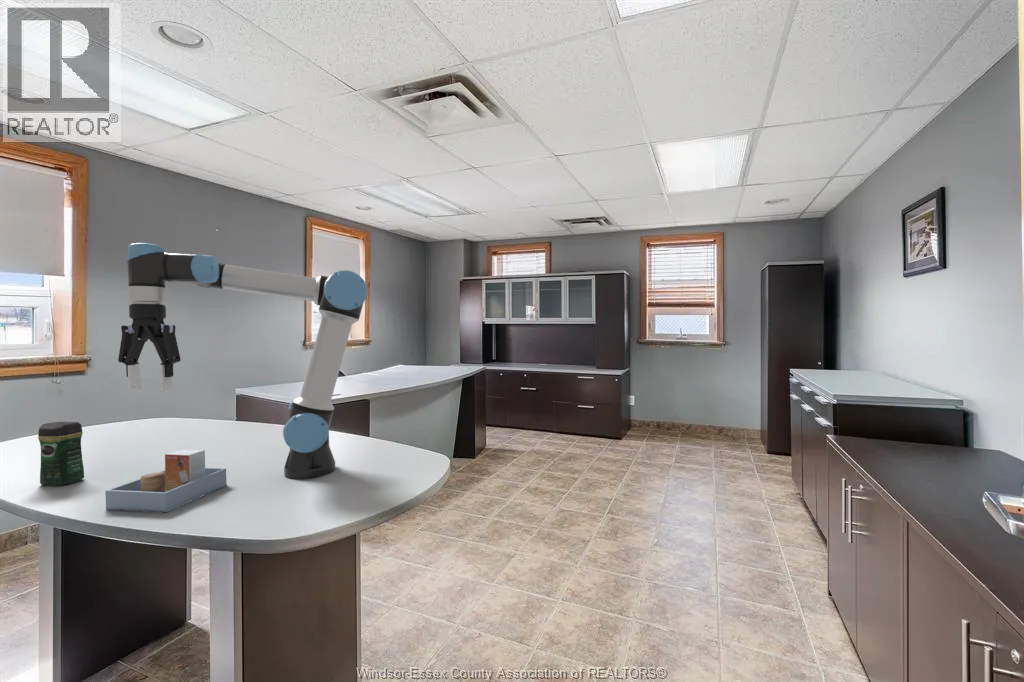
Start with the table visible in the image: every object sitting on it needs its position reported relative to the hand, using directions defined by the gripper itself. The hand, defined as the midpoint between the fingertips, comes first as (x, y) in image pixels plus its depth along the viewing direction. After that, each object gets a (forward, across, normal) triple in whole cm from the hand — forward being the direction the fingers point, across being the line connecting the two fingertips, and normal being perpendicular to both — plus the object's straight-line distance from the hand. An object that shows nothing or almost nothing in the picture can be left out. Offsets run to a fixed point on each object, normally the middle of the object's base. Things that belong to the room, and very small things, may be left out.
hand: (150, 389), depth 119 cm
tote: (+30, 0, -5) cm, 31 cm away
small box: (+30, 0, -10) cm, 32 cm away
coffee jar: (+31, +44, -12) cm, 55 cm away
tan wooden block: (+30, 0, 0) cm, 30 cm away
